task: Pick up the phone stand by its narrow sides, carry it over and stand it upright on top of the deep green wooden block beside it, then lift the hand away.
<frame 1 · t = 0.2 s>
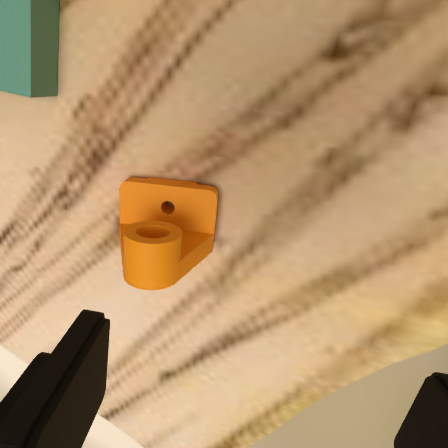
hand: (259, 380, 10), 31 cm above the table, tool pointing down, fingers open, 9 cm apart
bracket: (172, 208, 42), on the table
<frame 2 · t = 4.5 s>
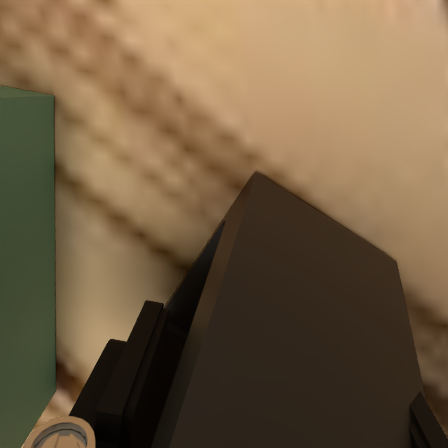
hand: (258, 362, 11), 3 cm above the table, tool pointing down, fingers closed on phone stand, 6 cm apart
phone stand: (255, 301, 14), on the table, touching gripper
when the fingers open (10 cm above the table, at t = 9.7 s): phone stand drops 2 cm, resting on green block.
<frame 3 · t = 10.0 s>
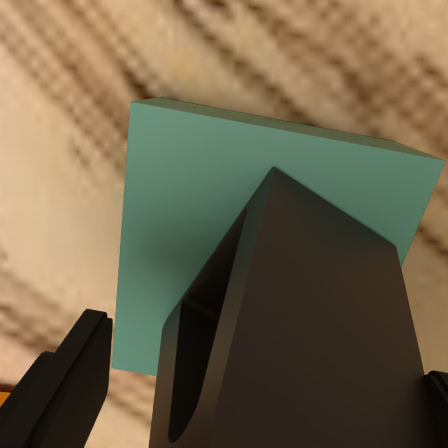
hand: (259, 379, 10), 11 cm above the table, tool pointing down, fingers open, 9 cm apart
green block: (251, 235, 20), on the table
phone stand: (270, 282, 16), point 5 cm above the table, touching green block
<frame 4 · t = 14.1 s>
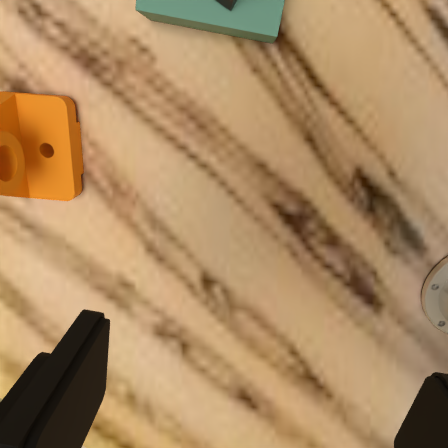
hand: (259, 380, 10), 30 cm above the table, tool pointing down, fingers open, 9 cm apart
bracket: (50, 145, 39), on the table
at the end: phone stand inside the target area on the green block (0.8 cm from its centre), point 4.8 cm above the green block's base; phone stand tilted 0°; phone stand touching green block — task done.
